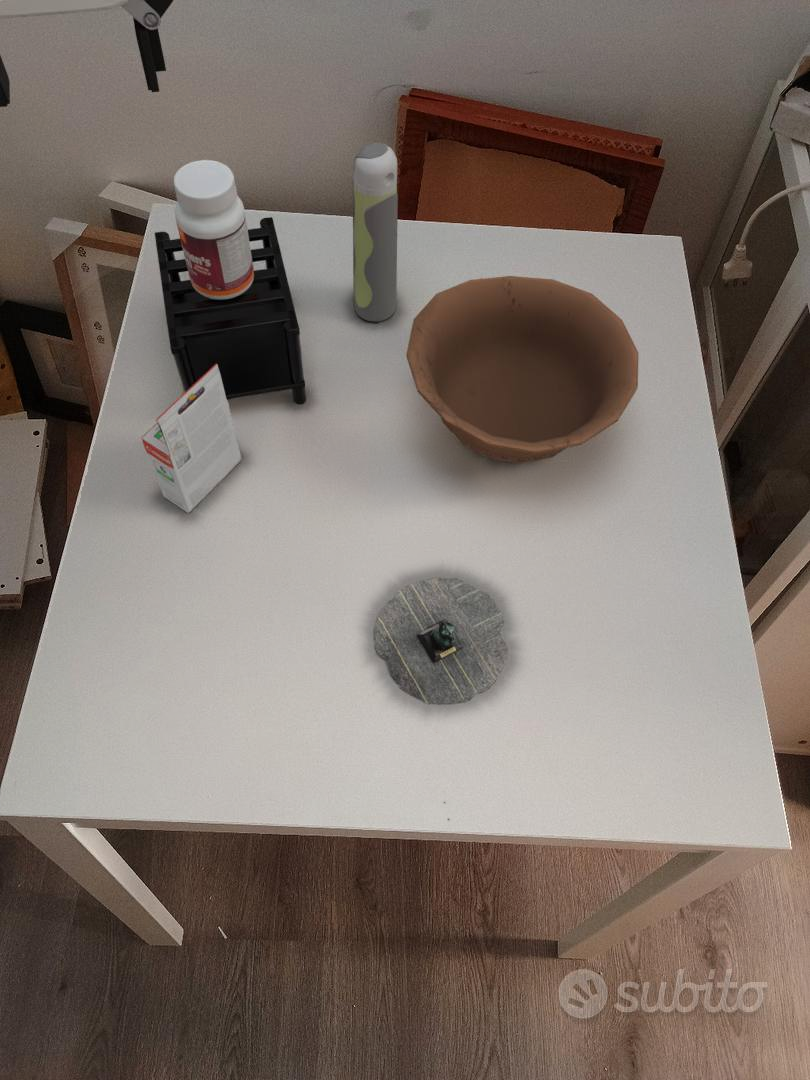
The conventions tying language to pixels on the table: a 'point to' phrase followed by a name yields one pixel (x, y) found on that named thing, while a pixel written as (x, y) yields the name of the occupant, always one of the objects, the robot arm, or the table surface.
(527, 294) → the bowl
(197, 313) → the rack
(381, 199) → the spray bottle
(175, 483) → the ink box
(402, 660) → the sculpture
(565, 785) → the table surface
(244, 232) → the pill bottle
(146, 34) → the robot arm
